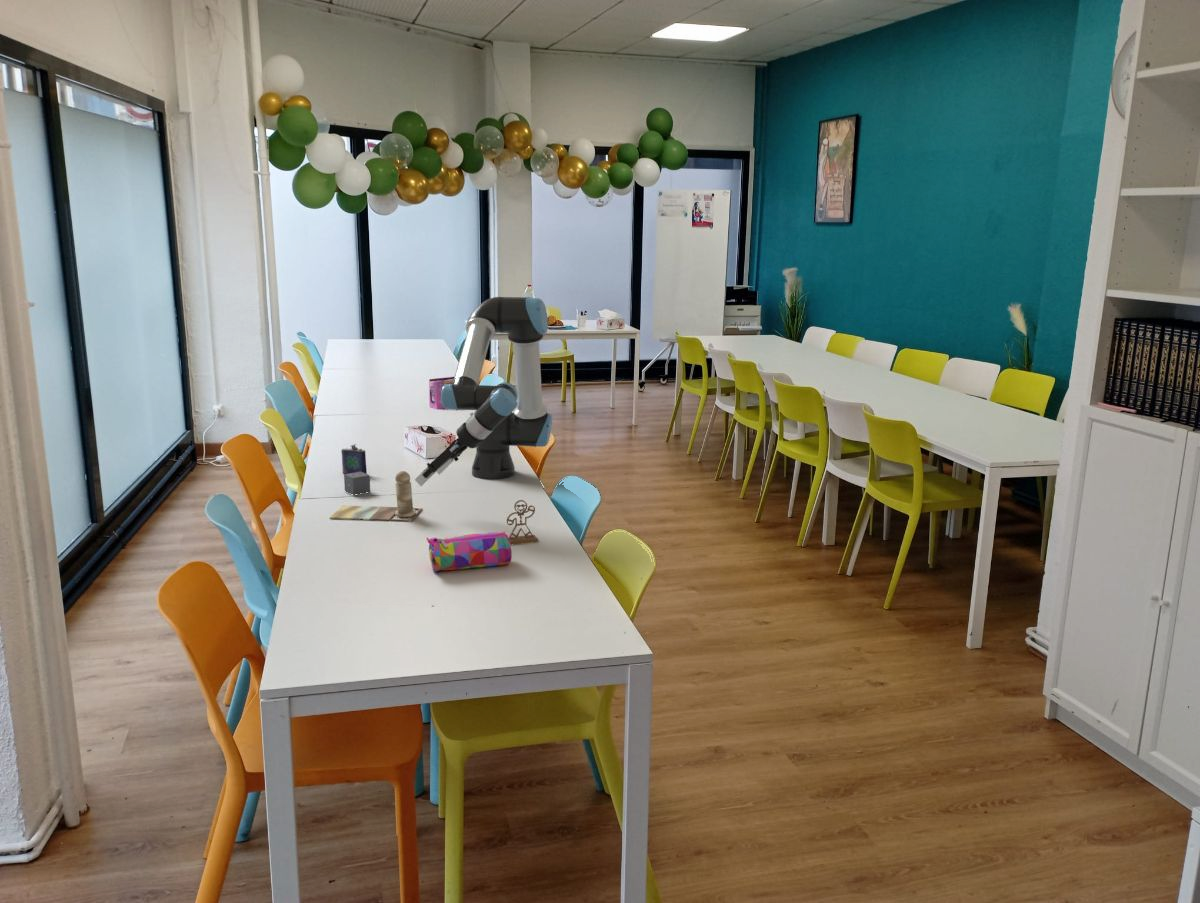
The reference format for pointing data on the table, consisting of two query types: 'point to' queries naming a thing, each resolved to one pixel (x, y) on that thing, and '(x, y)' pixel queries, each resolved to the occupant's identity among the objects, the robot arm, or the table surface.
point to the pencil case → (470, 551)
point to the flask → (353, 460)
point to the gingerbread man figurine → (527, 537)
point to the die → (357, 482)
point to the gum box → (437, 391)
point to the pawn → (404, 495)
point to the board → (368, 513)
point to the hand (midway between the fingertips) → (427, 476)
